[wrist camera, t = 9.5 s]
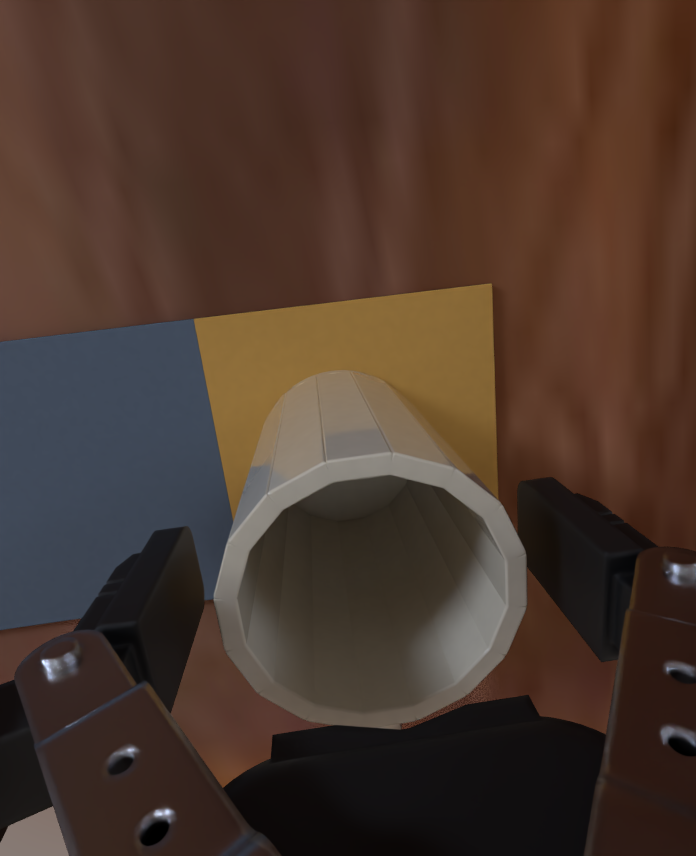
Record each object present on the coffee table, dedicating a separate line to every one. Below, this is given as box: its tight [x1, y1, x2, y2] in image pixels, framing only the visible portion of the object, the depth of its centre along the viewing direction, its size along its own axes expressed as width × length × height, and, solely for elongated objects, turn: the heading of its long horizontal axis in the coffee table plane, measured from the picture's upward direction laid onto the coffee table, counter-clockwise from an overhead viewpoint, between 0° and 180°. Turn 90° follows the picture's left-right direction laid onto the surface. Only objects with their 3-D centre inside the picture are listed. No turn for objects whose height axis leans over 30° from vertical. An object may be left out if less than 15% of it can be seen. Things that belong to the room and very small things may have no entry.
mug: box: [213, 370, 527, 729], centre depth 15 cm, size 9×6×10 cm
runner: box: [0, 284, 498, 630], centre depth 19 cm, size 11×25×1 cm, turn 96°
